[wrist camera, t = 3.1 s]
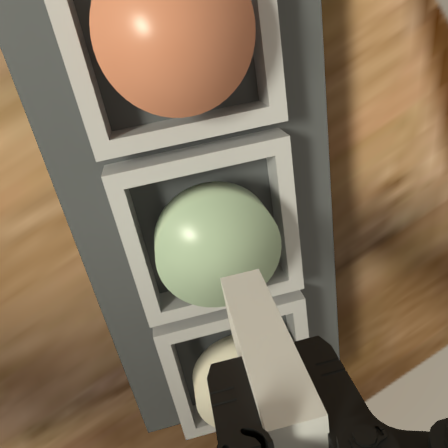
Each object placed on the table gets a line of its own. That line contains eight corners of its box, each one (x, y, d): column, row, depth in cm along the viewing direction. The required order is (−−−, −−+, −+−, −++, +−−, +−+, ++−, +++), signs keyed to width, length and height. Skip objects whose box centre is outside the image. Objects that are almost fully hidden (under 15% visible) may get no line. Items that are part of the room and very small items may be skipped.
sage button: (169, 299, 22) (171, 320, 20) (140, 196, 19) (139, 212, 17) (276, 272, 22) (287, 290, 21) (263, 169, 20) (274, 181, 18)
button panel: (147, 397, 31) (148, 457, 26) (-20, -63, 18) (-71, -93, 13) (324, 350, 32) (352, 399, 28) (289, -113, 19) (333, -155, 15)
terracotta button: (119, 123, 18) (117, 131, 16) (72, -41, 15) (64, -50, 13) (253, 94, 18) (264, 101, 16) (232, -68, 15) (243, -80, 14)
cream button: (202, 417, 26) (206, 442, 24) (182, 347, 23) (186, 370, 22) (292, 392, 27) (301, 415, 25) (283, 321, 24) (293, 342, 22)
